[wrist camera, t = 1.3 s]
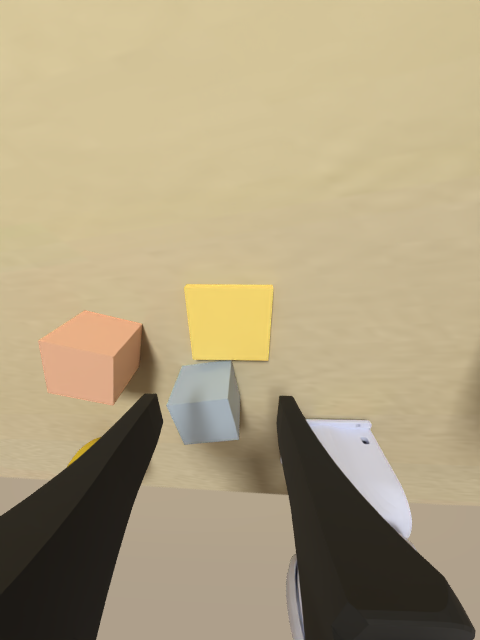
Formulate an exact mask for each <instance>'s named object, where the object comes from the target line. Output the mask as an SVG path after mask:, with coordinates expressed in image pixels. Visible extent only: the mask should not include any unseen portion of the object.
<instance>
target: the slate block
mask: <svg viewBox="0 0 480 640" xmlns="http://www.w3.org/2000/svg"><path fill="white" fill-rule="evenodd" d="M166 406H167V408H168V410H169V412H170V414H171V417H172V419H173V421H174V423H175V425H176V427H177V430H178V432H179V434H180V436H181V438H182V441H183V443H184V445H186V444H197V443H208V442H218V441H229V440H239V423H240V394H239V389H238V385H237V381H236V377H235V373H234V369H233V365H232V360H225V361H217V362H209V363H202V364H194V365H186V366H182V368H181V370H180V373H179V375H178V378H177V380H176V383H175V385H174V388H173V390H172V393H171V395H170V398H169V400H168V403H167V405H166Z"/></svg>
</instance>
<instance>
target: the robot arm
mask: <svg viewBox="0 0 480 640" xmlns="http://www.w3.org/2000/svg"><path fill="white" fill-rule="evenodd" d="M162 424H163V419H162V414H161V410H160V406H159V402H158V397H157V394H144V395H143V396H142V397H141V398H140V399H139V400H138V401H137V402H136V403H135V404H134V405H133V406H132V407H131V408H130V409H129V410H128V411H127V412H126V413H125V414H124V415H123V416H122V417H121V418H120V419H119V420H118V421H117V422H116V423H115V424H114V425H113V426H112V427H111V428H110V429H109V430H108V431H107V432H106V433H105V434H104V435H103V436H102V437H101V438H100V439H99V440H98V441H97V442H95V443H94V444H93V445H92V446H91V447H90V448H89V449H88V450H87V451H86V452H84V453H83V454H82V455H81V456H80V457H79V458H78V459H76V460H75V461H74V462H73V463H72V464H70V465H69V466H68V467H67V468H66V469H64V470H63V471H62V472H61V473H59V474H58V475H57V476H55V477H54V478H53V479H52V480H50V481H49V482H48V483H47V484H45V485H44V486H42V487H41V488H40V489H38V490H37V491H36V492H34V493H33V494H31V495H30V496H29V497H27V498H26V499H25V500H23V501H22V502H21V503H19V504H17V505H16V506H15V507H13V508H12V509H10V510H9V511H7V512H6V513H4V514H3V515H2V516H0V640H96V637H97V633H98V629H99V625H100V621H101V617H102V613H103V609H104V605H105V601H106V597H107V593H108V590H109V586H110V582H111V578H112V575H113V571H114V568H115V564H116V560H117V557H118V553H119V550H120V547H121V543H122V540H123V536H124V533H125V529H126V526H127V523H128V520H129V517H130V513H131V510H132V507H133V504H134V501H135V498H136V496H137V493H138V490H139V488H140V485H141V483H142V480H143V478H144V475H145V473H146V470H147V468H148V465H149V463H150V460H151V458H152V455H153V453H154V450H155V448H156V445H157V442H158V439H159V435H160V432H161V428H162ZM371 426H372V424H371V423H370V421H368V420H329V419H305V417H304V416H303V414H302V412H301V411H300V409H299V407H298V405H297V403H296V401H295V399H294V398H293V397H292V396H279V406H278V415H277V434H278V444H279V450H280V455H281V457H280V461H281V463H282V465H283V470H284V475H285V480H286V485H287V490H288V495H289V500H290V506H291V513H292V521H293V530H294V538H295V547H296V554H295V555H294V556H292V558H291V560H290V564H289V569H288V573H287V581H286V597H287V608H288V616H289V622H290V627H291V632H292V637H293V640H473V639H474V637H475V629H474V627H473V625H472V623H471V621H470V619H469V618H468V616H467V614H466V612H465V610H464V608H463V607H462V605H461V603H460V602H459V600H458V598H457V597H456V595H455V593H454V592H453V590H452V589H451V587H450V585H449V584H448V582H447V581H446V579H445V577H444V576H443V575H442V574H441V573H440V572H438V571H437V570H436V569H435V568H434V567H433V566H432V565H431V564H430V563H429V562H428V561H427V560H426V559H424V558H423V557H422V556H421V555H420V554H419V553H418V552H417V550H416V548H415V547H414V545H413V543H412V542H411V541H409V540H408V539H407V538H408V537H409V536H410V533H411V528H412V519H411V513H410V508H409V505H408V501H407V498H406V496H405V493H404V491H403V488H402V486H401V484H400V482H399V480H398V479H397V477H396V475H395V473H394V471H393V470H392V468H391V466H390V464H389V462H388V461H387V459H386V457H385V455H384V454H383V452H382V450H381V448H380V446H379V445H378V443H377V441H376V439H375V437H374V436H373V434H372V432H371V430H370V428H371Z"/></svg>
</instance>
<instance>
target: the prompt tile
mask: <svg viewBox="0 0 480 640" xmlns="http://www.w3.org/2000/svg"><path fill="white" fill-rule="evenodd" d="M184 291H185V299H186V307H187V316H188V324H189V332H190V340H191V348H192V357H193V360H268V356H269V342H270V328H271V314H272V300H273V286H272V285H190V284H186V286H185V287H184Z"/></svg>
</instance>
